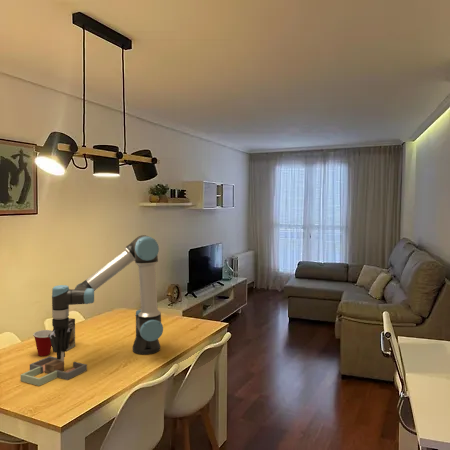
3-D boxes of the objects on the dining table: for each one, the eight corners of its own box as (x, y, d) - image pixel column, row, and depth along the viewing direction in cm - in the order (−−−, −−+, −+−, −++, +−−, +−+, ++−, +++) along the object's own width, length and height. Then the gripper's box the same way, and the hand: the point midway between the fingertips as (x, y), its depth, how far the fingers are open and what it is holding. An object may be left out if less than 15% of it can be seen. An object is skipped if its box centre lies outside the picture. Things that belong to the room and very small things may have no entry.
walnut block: (64, 370, 193) (64, 361, 193) (54, 375, 187) (54, 366, 187) (55, 368, 195) (55, 359, 195) (45, 373, 190) (45, 363, 190)
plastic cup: (41, 359, 206) (41, 337, 206) (29, 355, 212) (28, 333, 212) (59, 353, 216) (59, 331, 215) (47, 349, 221) (47, 328, 221)
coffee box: (66, 351, 218) (66, 322, 218) (55, 350, 220) (55, 322, 219) (75, 346, 227) (75, 318, 227) (65, 345, 228) (65, 317, 228)
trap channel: (86, 370, 193) (86, 364, 193) (49, 388, 173) (49, 382, 173) (49, 361, 204) (49, 356, 204) (10, 378, 184) (10, 371, 184)
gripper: (65, 313, 201) (65, 359, 202) (44, 319, 189) (44, 368, 190) (76, 315, 198) (76, 361, 199) (55, 321, 186) (55, 371, 187)
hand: (60, 364), depth 195 cm, fingers closed
